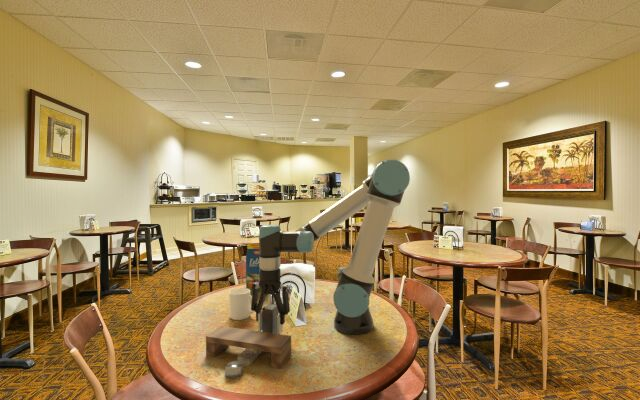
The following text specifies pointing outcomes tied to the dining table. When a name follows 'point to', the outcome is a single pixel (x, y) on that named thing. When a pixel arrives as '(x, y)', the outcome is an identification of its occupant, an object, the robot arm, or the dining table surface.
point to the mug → (240, 304)
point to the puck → (234, 369)
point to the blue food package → (252, 265)
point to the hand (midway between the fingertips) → (270, 331)
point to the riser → (250, 343)
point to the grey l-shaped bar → (268, 326)
